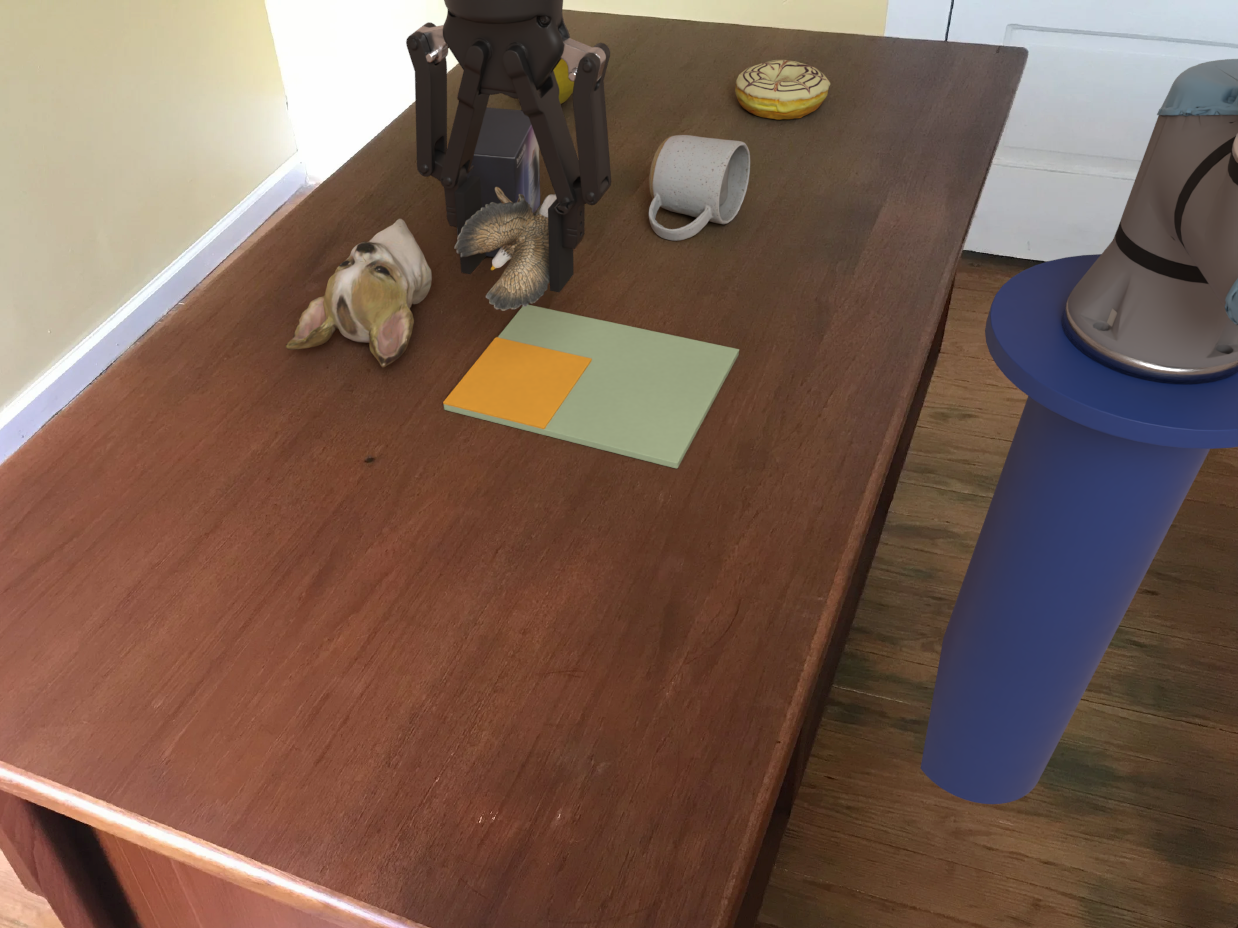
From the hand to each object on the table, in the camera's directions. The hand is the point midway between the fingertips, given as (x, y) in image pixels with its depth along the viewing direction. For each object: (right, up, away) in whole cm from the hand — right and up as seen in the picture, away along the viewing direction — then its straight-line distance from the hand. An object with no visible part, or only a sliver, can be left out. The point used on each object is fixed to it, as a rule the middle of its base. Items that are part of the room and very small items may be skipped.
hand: (516, 273), depth 83 cm
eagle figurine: (0, 0, 0) cm, 1 cm away
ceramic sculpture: (-12, -1, +16) cm, 20 cm away
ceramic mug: (+18, +12, +28) cm, 35 cm away
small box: (-1, +11, +28) cm, 30 cm away
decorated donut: (+31, +31, +45) cm, 63 cm away
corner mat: (+7, -7, +9) cm, 13 cm away
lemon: (+4, +33, +49) cm, 59 cm away
